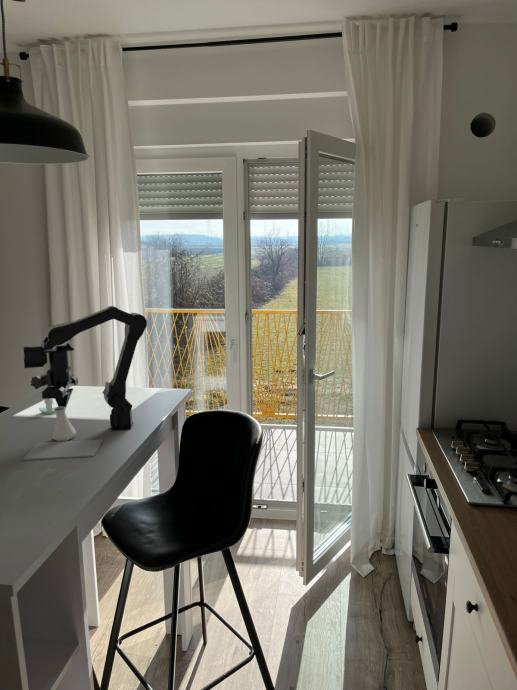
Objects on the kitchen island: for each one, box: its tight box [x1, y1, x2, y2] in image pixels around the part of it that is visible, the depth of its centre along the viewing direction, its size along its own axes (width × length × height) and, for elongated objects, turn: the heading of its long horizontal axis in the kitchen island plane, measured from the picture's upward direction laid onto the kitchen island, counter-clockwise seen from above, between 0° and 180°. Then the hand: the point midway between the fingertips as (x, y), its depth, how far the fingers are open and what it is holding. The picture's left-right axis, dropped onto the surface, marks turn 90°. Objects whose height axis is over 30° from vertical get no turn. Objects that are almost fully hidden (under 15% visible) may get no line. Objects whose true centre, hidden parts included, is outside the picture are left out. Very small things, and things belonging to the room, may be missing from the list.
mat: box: [23, 439, 104, 461], centre depth 161 cm, size 20×13×1 cm, turn 95°
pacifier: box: [38, 399, 58, 415], centre depth 199 cm, size 7×6×6 cm
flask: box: [51, 406, 77, 442], centre depth 170 cm, size 7×7×10 cm
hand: (62, 412), depth 171 cm, fingers closed
